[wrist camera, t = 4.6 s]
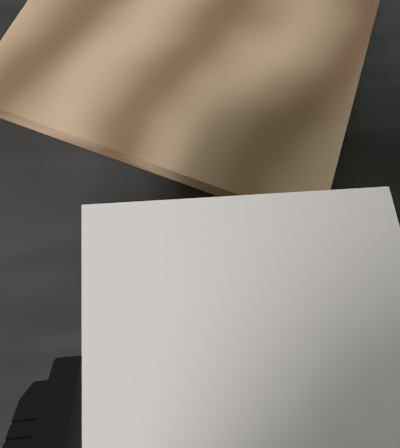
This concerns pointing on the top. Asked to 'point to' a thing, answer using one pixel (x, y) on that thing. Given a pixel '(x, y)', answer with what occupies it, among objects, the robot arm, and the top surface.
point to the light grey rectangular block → (242, 321)
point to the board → (193, 85)
